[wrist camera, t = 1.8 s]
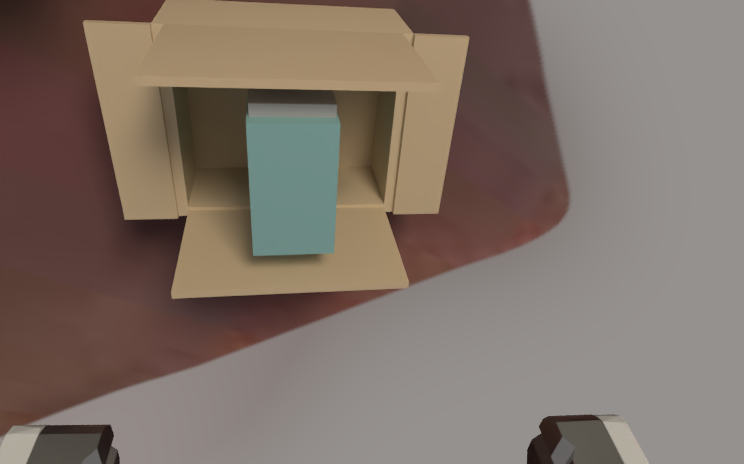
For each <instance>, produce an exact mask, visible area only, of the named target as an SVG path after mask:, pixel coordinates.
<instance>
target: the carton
mask: <svg viewBox="0 0 744 464" xmlns="http://www.w3.org/2000/svg"><path fill="white" fill-rule="evenodd" d="M83 26H84V31H85V35H86V40H87V45H88V49H89V54H90V59H91V63H92V68H93V73H94V77H95V82H96V87H97V91H98V96H99V101H100V105H101V110H102V115H103V120H104V124H105V129H106V134H107V138H108V143H109V148H110V152H111V157H112V162H113V166H114V171H115V176H116V180H117V185H118V190H119V194H120V199H121V204H122V208H123V213H124V218H125V220H137V219H178V217H179V216H187V219H186V224H185V229H184V234H183V238H182V243H181V248H180V253H179V257H178V262H177V267H176V271H175V276H174V281H173V286H172V290H171V295H172V299H175V298H197V297H219V296H242V295H264V294H286V293H308V292H330V291H352V290H374V289H396V288H408V285H409V281H408V278H407V275H406V272H405V269H404V266H403V263H402V260H401V257H400V254H399V251H398V248H397V245H396V242H395V239H394V236H393V233H392V230H391V227H390V224H389V221H388V218H387V215H386V212H393V214H432V213H438V211H439V206H440V200H441V194H442V189H443V183H444V178H445V172H446V166H447V161H448V155H449V149H450V144H451V138H452V133H453V127H454V121H455V116H456V110H457V104H458V99H459V93H460V88H461V82H462V76H463V71H464V65H465V60H466V54H467V48H468V43H469V37H468V36H464V35H440V34H415V33H413V32H412V31H411V30H410V29H409V27H408V26H407V25H406V24H405V22H404V21H403V20H402V19H401V17H400V16H399V15H398V14H397V12H396V11H395V10H394V9H380V8H360V7H339V6H318V5H298V4H277V3H256V2H236V1H215V0H166V1H165V2H164V4H163V5H162V7H161V9H160V10H159V12H158V13H157V15H156V16H155V18H154V19H153V21H152V22H151V23H144V22H119V21H94V20H85V21H84V22H83ZM248 88H254V89H302V90H333V92H334V96H335V99H336V103H337V113H338V117H339V120H340V124H341V125H340V145H339V165H338V184H337V204H336V224H335V243H334V253H330V254H299V255H269V256H253V244H252V226H251V208H250V190H249V172H248V154H247V136H246V113H247V99H248Z"/></svg>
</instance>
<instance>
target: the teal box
mask: <svg viewBox="0 0 744 464" xmlns="http://www.w3.org/2000/svg"><path fill="white" fill-rule="evenodd" d="M340 125H341V124H340V120H339V117H338V113H337V103H336V99H335V96H334V92H333V90H302V89H254V88H248V99H247V113H246V136H247V154H248V172H249V190H250V208H251V226H252V244H253V256H269V255H299V254H330V253H334V243H335V224H336V204H337V184H338V165H339V145H340Z"/></svg>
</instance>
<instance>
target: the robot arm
mask: <svg viewBox="0 0 744 464" xmlns="http://www.w3.org/2000/svg"><path fill="white" fill-rule="evenodd" d="M539 428H540V430H541V434H540V435H538V436H537V437H535V438H534V439H532V441H531V443H530V445H529V447H528V450H527V464H649V463H648V461H647V459H646V457H645V456H644V454H643V452H642V450H641V448H640V446H639V445H638V443H637V441H636V439H635V438H634V436H633V434H632V432H631V430H630V429H629V427H628V425H627V423H626V422H625V421H624V419H623V418H621V417H620V416H619V415H566V416H548V417H546V418H544V419H543V420H542V422H541V424H540V425H539ZM113 437H114V434H113V431H112V428H111V425H53V426H51V425H26V426H13V427H12V428H11V429H10V430H9V431H8V433H7V434H6V435H5V436H4V438H3V440H2V442H1V444H0V464H120V461H119V459H120V458H119V454H118V451H117V449H115V448H114V447H112V446H111V444H112V441H113Z"/></svg>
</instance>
